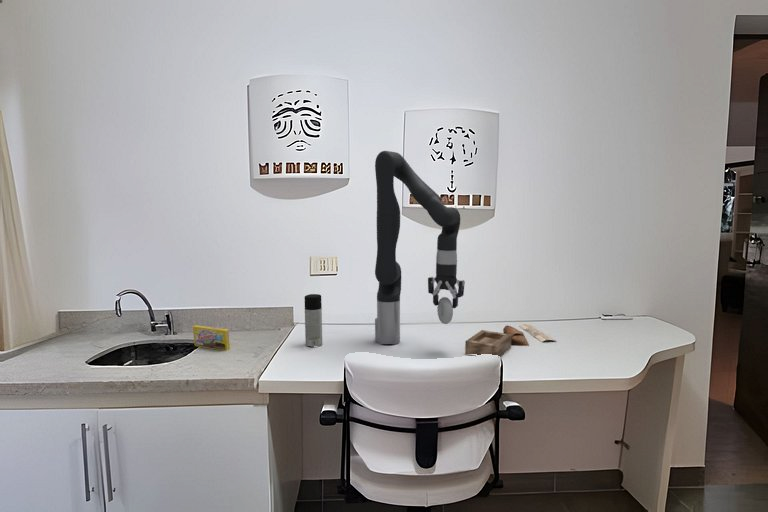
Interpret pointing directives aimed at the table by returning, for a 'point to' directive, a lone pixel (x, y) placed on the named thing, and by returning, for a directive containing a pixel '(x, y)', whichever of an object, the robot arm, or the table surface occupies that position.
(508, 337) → the walnut base
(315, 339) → the spray can
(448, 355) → the table surface
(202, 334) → the candy box
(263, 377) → the table surface
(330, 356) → the table surface
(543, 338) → the newspaper
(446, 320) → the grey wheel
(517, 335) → the sunglasses case
